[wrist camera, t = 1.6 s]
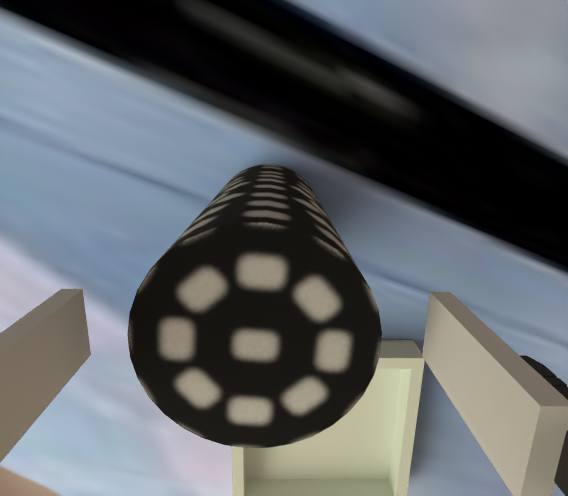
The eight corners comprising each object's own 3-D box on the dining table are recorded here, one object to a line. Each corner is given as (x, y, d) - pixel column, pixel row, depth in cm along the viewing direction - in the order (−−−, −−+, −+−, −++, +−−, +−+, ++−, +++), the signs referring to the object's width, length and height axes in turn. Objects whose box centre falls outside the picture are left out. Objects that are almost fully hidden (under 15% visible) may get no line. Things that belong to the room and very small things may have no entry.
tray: (233, 338, 35) (229, 357, 33) (412, 339, 36) (424, 358, 33) (236, 482, 40) (233, 509, 37) (395, 481, 40) (404, 508, 37)
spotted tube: (325, 169, 31) (402, 234, 12) (313, 269, 34) (361, 455, 15) (218, 159, 31) (125, 209, 12) (213, 261, 33) (129, 440, 14)
